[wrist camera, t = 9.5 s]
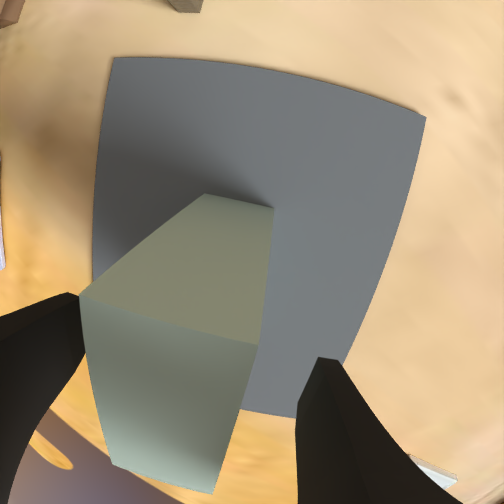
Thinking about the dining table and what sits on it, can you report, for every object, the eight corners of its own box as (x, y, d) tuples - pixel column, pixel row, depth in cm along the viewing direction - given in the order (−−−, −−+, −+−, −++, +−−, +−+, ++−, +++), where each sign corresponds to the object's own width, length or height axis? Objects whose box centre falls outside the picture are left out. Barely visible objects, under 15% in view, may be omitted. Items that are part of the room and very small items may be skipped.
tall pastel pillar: (187, 312, 15) (112, 464, 7) (204, 193, 13) (78, 294, 4) (246, 326, 15) (212, 494, 7) (274, 208, 13) (258, 344, 4)
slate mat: (104, 364, 18) (101, 368, 17) (118, 59, 11) (114, 57, 11) (312, 415, 18) (312, 420, 17) (422, 117, 11) (426, 117, 11)
